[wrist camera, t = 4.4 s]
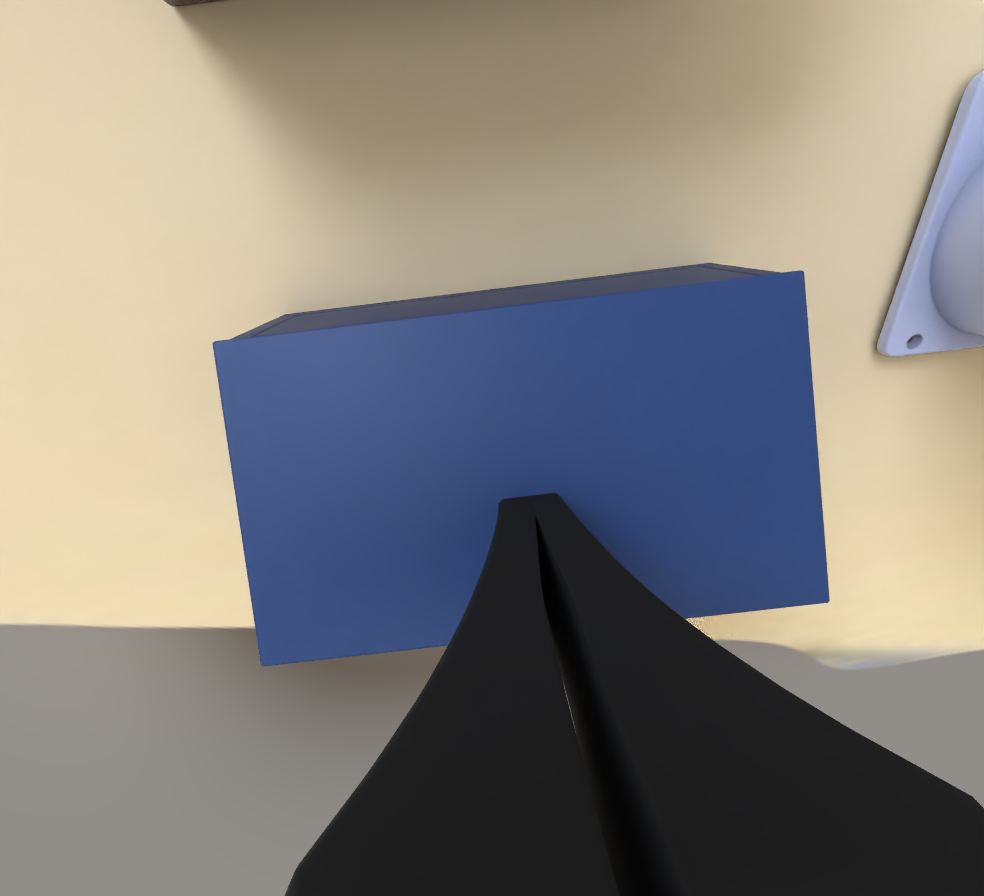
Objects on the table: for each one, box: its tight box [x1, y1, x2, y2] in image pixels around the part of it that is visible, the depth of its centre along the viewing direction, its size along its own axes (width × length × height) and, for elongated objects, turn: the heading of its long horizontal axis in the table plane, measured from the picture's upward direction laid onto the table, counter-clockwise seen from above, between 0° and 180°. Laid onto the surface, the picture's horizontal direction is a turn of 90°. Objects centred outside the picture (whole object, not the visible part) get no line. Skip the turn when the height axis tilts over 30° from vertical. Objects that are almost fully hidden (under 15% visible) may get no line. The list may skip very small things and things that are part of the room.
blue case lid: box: [213, 271, 829, 666], centre depth 10 cm, size 8×14×1 cm, turn 96°
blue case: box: [232, 263, 780, 339], centre depth 14 cm, size 8×14×4 cm, turn 96°
